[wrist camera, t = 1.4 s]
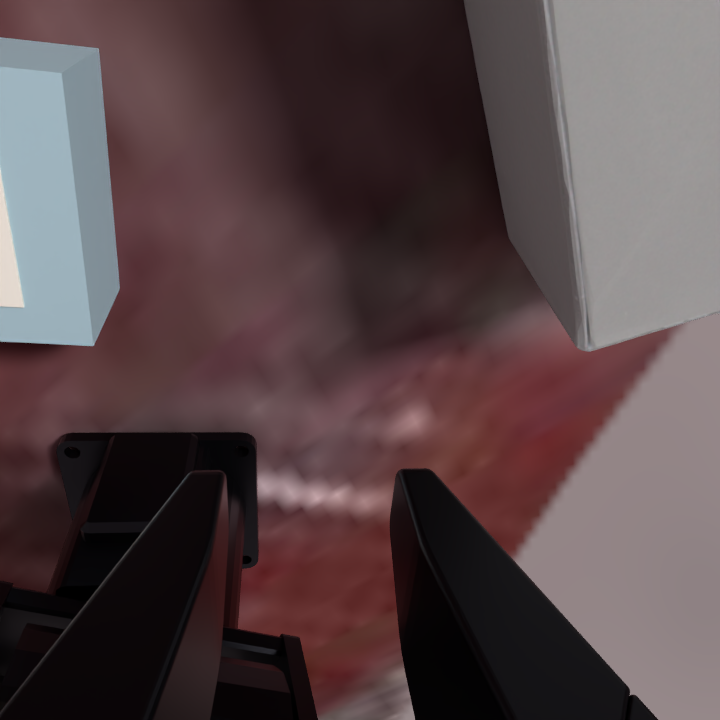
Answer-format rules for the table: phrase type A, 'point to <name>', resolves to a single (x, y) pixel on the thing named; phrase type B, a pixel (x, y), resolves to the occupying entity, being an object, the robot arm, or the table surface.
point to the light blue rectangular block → (54, 196)
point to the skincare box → (607, 155)
